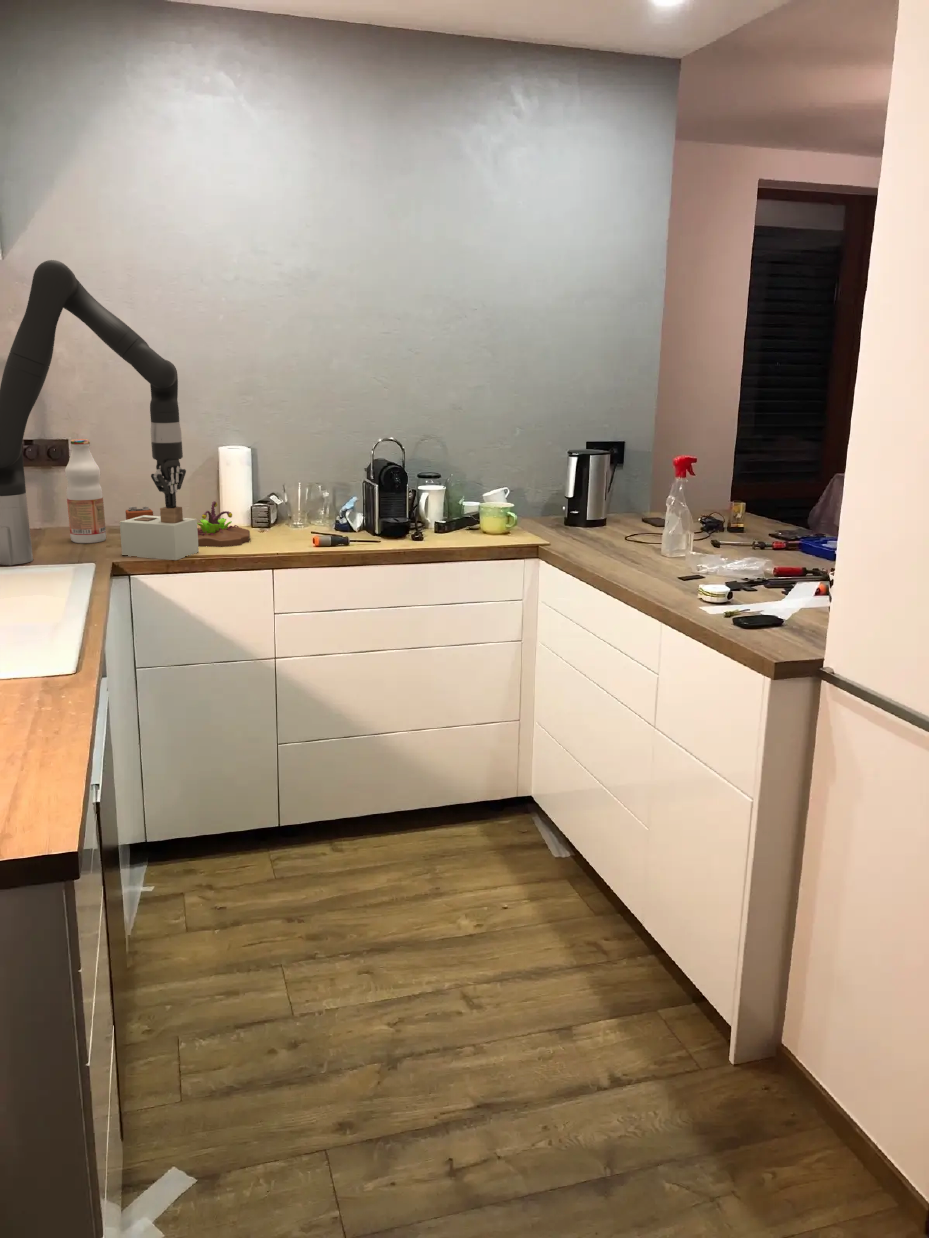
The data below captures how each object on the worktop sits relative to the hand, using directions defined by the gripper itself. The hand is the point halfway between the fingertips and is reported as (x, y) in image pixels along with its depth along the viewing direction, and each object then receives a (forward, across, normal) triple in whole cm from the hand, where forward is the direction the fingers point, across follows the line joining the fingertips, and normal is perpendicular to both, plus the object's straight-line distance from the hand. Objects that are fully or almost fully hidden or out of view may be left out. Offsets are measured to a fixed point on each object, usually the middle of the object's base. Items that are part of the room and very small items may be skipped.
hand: (171, 507), depth 257 cm
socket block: (+13, 0, +4) cm, 13 cm away
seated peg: (+13, 0, +8) cm, 15 cm away
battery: (+13, +12, +18) cm, 25 cm away
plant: (+13, +22, +1) cm, 26 cm away
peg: (+9, 0, 0) cm, 9 cm away
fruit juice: (+13, +9, +33) cm, 37 cm away
